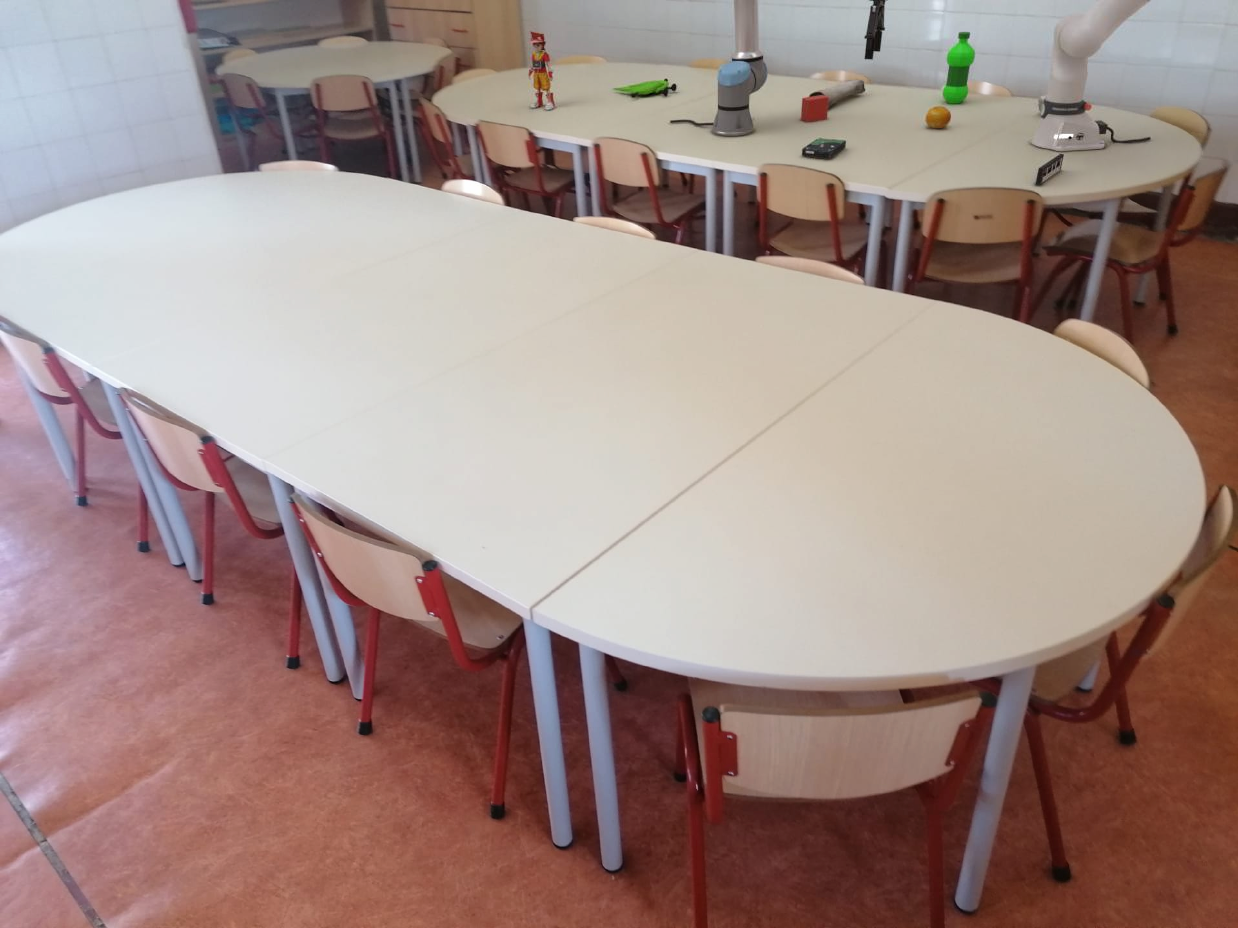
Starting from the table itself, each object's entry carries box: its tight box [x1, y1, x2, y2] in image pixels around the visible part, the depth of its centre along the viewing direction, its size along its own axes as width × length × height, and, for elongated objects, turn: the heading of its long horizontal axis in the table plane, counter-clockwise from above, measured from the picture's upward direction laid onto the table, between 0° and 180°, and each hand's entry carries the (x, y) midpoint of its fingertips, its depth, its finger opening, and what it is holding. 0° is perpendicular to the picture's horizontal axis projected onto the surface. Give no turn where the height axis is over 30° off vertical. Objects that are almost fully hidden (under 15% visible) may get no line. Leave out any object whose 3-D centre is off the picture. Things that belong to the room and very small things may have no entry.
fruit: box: [925, 105, 952, 129], centre depth 325 cm, size 8×8×8 cm
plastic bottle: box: [942, 31, 976, 104], centre depth 348 cm, size 10×10×25 cm
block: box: [800, 95, 829, 123], centre depth 343 cm, size 5×9×8 cm, turn 111°
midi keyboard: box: [1035, 153, 1065, 186], centre depth 273 cm, size 18×1×5 cm, turn 138°
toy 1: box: [527, 31, 556, 111], centre depth 374 cm, size 12×9×30 cm
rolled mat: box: [808, 78, 866, 108], centre depth 363 cm, size 30×9×10 cm
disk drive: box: [801, 137, 847, 160], centre depth 307 cm, size 10×3×15 cm
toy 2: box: [612, 78, 677, 99], centre depth 396 cm, size 28×5×30 cm
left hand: (872, 55), depth 312 cm, fingers open, 13 cm apart
